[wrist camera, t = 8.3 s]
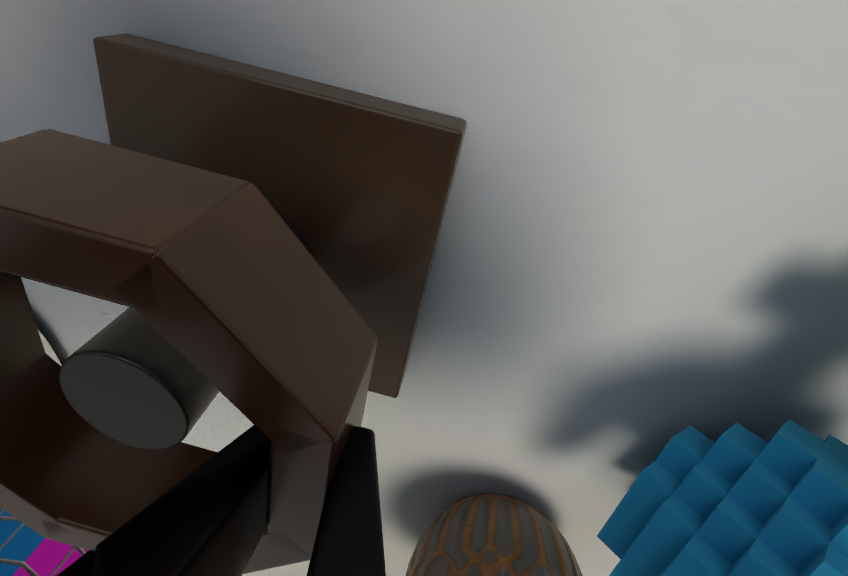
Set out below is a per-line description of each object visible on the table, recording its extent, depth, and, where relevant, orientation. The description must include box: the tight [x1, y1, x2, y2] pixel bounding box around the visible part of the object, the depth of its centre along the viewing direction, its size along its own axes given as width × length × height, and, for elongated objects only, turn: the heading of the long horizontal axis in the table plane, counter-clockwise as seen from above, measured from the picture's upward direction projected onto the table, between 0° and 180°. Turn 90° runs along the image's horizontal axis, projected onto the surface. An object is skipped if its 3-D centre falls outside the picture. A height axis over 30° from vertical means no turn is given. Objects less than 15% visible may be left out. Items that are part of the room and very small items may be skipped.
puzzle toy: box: [0, 508, 89, 576], centre depth 25 cm, size 6×6×6 cm
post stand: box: [59, 34, 467, 450], centre depth 11 cm, size 9×9×7 cm
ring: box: [0, 129, 377, 574], centre depth 9 cm, size 8×8×2 cm
